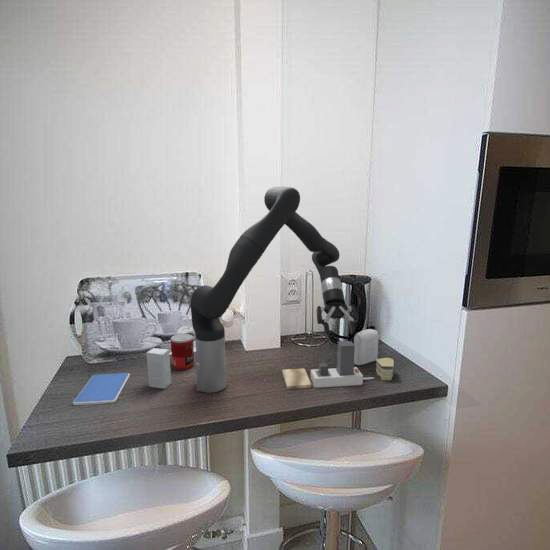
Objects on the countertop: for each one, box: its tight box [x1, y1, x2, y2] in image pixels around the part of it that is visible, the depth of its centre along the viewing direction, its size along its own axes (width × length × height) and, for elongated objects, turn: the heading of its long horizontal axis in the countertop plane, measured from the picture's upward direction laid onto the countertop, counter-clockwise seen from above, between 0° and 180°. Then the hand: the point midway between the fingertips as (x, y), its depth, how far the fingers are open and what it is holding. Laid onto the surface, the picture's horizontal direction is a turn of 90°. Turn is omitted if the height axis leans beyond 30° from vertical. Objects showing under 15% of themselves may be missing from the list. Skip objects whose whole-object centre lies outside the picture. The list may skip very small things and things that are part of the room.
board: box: [281, 368, 313, 390], centre depth 133 cm, size 8×12×1 cm, turn 7°
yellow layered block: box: [375, 357, 394, 381], centre depth 135 cm, size 10×9×6 cm
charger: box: [336, 340, 355, 375], centre depth 130 cm, size 4×4×10 cm
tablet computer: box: [72, 372, 131, 406], centre depth 128 cm, size 19×13×1 cm, turn 7°
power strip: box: [310, 362, 375, 389], centre depth 131 cm, size 21×6×6 cm, turn 97°
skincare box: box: [146, 347, 172, 390], centre depth 128 cm, size 6×4×12 cm
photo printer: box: [353, 328, 380, 366], centre depth 146 cm, size 10×4×12 cm, turn 123°
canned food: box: [170, 333, 195, 371], centre depth 143 cm, size 8×8×11 cm
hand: (340, 333), depth 135 cm, fingers open, 8 cm apart
